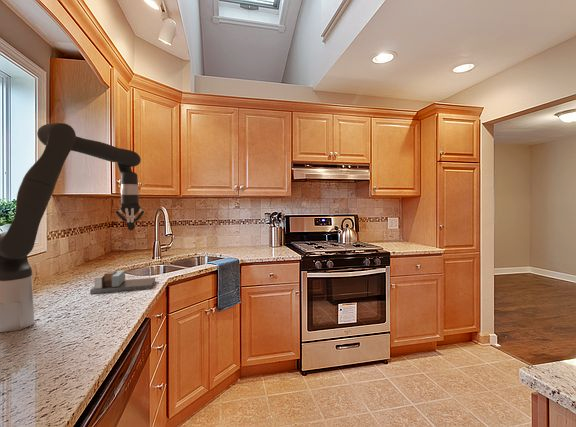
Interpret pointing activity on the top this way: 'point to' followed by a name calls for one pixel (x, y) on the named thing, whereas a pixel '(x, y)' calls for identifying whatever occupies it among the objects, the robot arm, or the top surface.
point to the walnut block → (108, 278)
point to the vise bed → (125, 286)
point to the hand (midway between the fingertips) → (131, 230)
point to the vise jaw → (118, 278)
